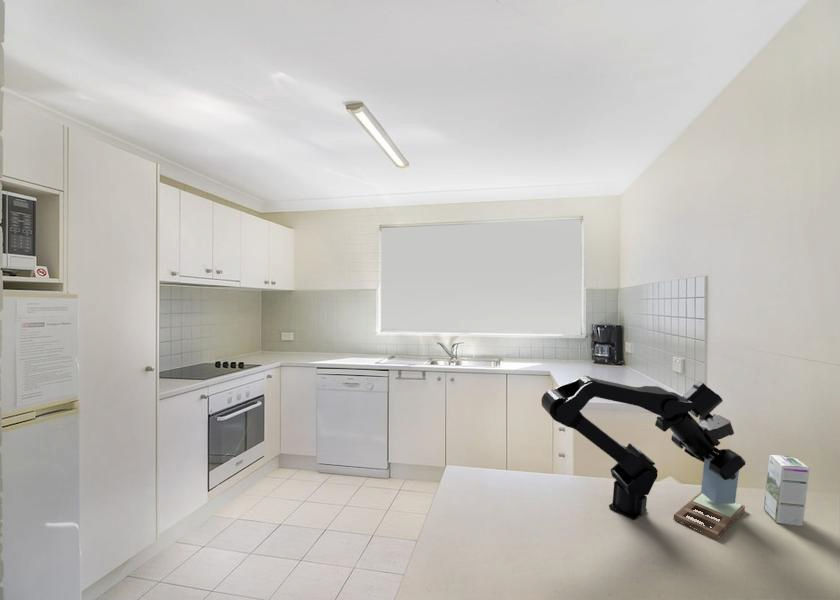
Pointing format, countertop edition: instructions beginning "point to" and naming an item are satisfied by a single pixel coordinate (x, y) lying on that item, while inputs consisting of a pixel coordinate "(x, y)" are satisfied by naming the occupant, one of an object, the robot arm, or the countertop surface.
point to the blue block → (718, 486)
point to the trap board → (705, 505)
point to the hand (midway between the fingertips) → (725, 472)
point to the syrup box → (786, 489)
